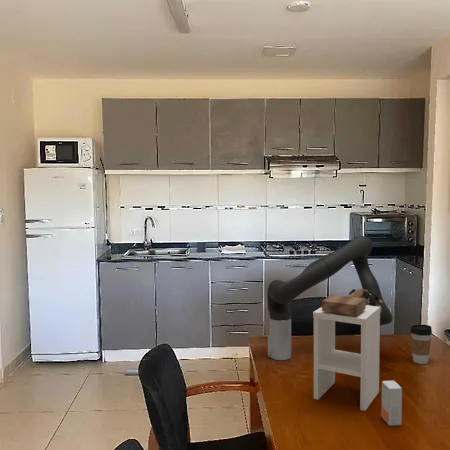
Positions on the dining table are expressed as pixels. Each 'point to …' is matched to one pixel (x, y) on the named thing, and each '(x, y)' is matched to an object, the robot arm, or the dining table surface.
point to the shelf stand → (347, 353)
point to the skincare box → (391, 403)
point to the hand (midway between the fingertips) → (358, 292)
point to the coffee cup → (421, 343)
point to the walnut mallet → (345, 303)
